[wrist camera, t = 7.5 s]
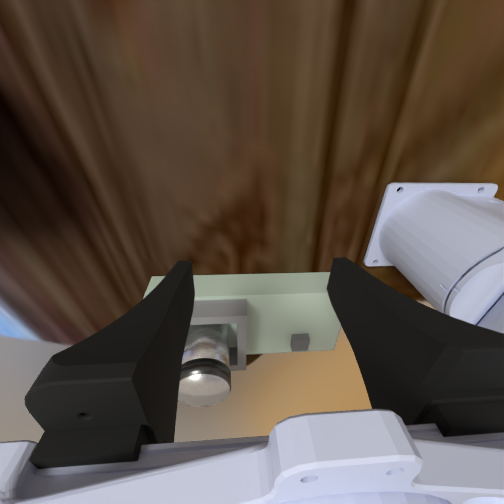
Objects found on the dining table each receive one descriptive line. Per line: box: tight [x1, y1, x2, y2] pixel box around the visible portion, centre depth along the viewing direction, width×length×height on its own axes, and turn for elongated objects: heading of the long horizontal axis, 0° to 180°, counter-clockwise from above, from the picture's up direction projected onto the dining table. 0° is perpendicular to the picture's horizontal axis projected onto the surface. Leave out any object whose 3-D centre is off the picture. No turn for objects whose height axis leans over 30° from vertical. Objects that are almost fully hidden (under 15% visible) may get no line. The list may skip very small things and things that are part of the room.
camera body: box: [143, 272, 341, 371], centre depth 25 cm, size 18×8×5 cm, turn 88°
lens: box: [178, 324, 231, 407], centre depth 21 cm, size 4×4×6 cm
